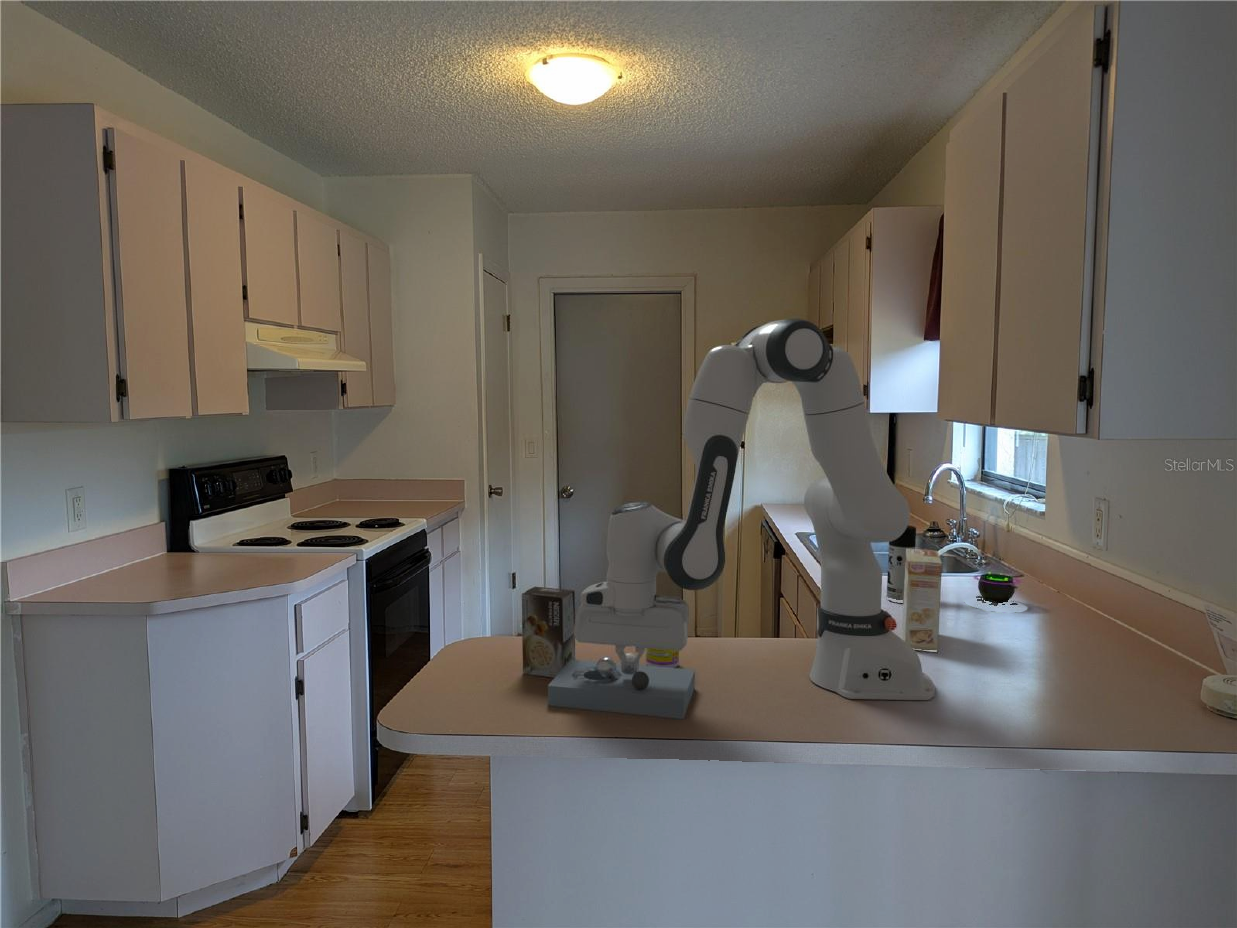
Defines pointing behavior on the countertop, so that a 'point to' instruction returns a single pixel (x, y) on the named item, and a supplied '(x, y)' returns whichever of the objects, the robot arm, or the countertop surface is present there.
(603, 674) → the steel ball
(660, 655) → the supplement bottle
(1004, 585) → the toy cauldron
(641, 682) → the black ball
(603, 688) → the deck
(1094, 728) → the countertop surface
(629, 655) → the cream ball
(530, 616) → the coffee box
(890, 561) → the spray can
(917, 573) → the coffeecake box
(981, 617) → the countertop surface
